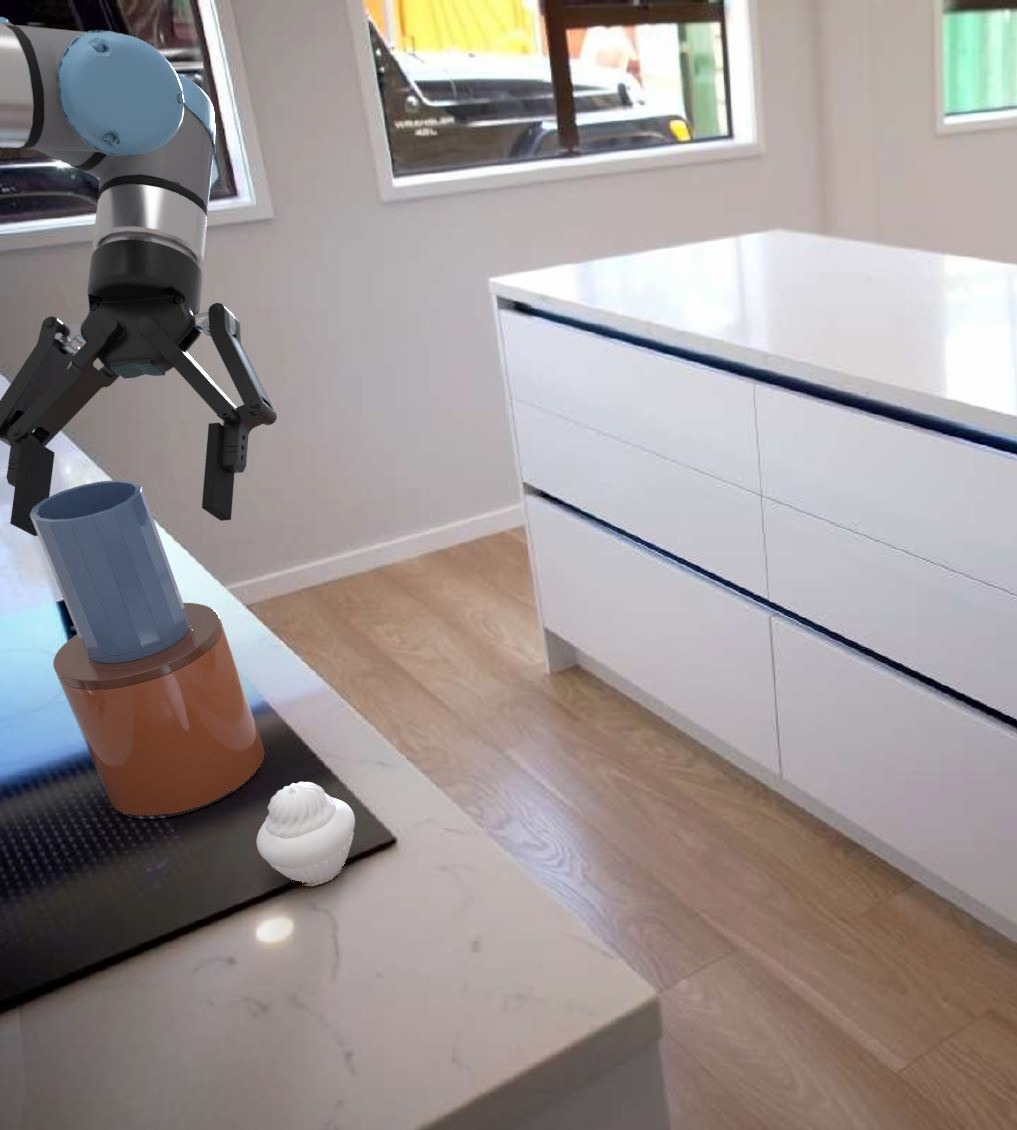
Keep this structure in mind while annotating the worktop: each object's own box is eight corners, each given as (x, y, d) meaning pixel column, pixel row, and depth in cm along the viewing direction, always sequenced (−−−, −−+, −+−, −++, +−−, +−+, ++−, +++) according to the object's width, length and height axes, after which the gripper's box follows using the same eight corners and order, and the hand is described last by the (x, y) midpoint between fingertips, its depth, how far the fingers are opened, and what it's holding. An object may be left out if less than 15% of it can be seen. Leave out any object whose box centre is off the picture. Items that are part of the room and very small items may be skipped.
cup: (81, 672, 89) (22, 529, 84) (92, 629, 95) (38, 493, 90) (187, 648, 91) (136, 507, 86) (192, 607, 97) (145, 472, 92)
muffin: (263, 866, 88) (233, 783, 84) (353, 830, 90) (328, 748, 87) (282, 916, 83) (251, 830, 80) (377, 876, 86) (351, 792, 83)
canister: (102, 837, 92) (41, 696, 86) (117, 756, 101) (63, 624, 96) (265, 793, 95) (217, 654, 90) (265, 719, 104) (222, 589, 99)
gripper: (330, 273, 102) (317, 524, 95) (18, 299, 102) (-16, 552, 96) (288, 220, 95) (271, 488, 88) (-48, 248, 95) (-89, 518, 88)
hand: (122, 522), depth 92 cm, fingers open, 13 cm apart
